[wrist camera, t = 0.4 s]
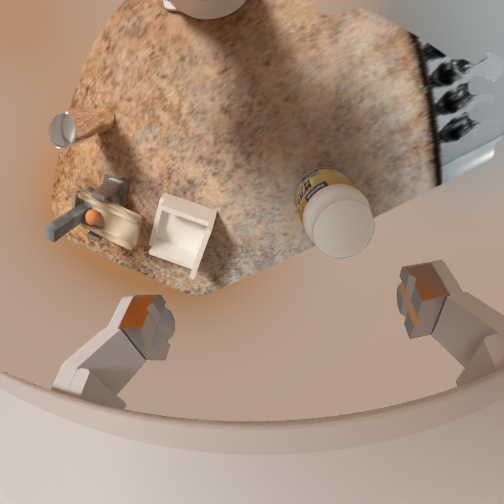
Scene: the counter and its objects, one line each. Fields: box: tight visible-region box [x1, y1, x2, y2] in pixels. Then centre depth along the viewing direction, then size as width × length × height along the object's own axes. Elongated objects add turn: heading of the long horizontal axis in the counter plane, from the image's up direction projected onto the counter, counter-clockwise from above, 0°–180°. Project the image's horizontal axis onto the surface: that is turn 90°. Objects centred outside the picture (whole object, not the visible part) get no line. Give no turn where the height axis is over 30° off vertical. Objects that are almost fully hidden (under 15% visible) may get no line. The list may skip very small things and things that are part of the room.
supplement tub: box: [294, 167, 375, 258], centre depth 49 cm, size 12×12×17 cm
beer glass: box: [48, 105, 115, 149], centre depth 41 cm, size 7×7×15 cm
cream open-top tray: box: [149, 193, 217, 279], centre depth 56 cm, size 12×12×9 cm
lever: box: [46, 187, 143, 251], centre depth 47 cm, size 16×8×16 cm, turn 68°
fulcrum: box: [87, 174, 129, 243], centre depth 53 cm, size 6×12×9 cm, turn 158°
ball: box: [85, 209, 100, 225], centre depth 49 cm, size 3×3×3 cm
